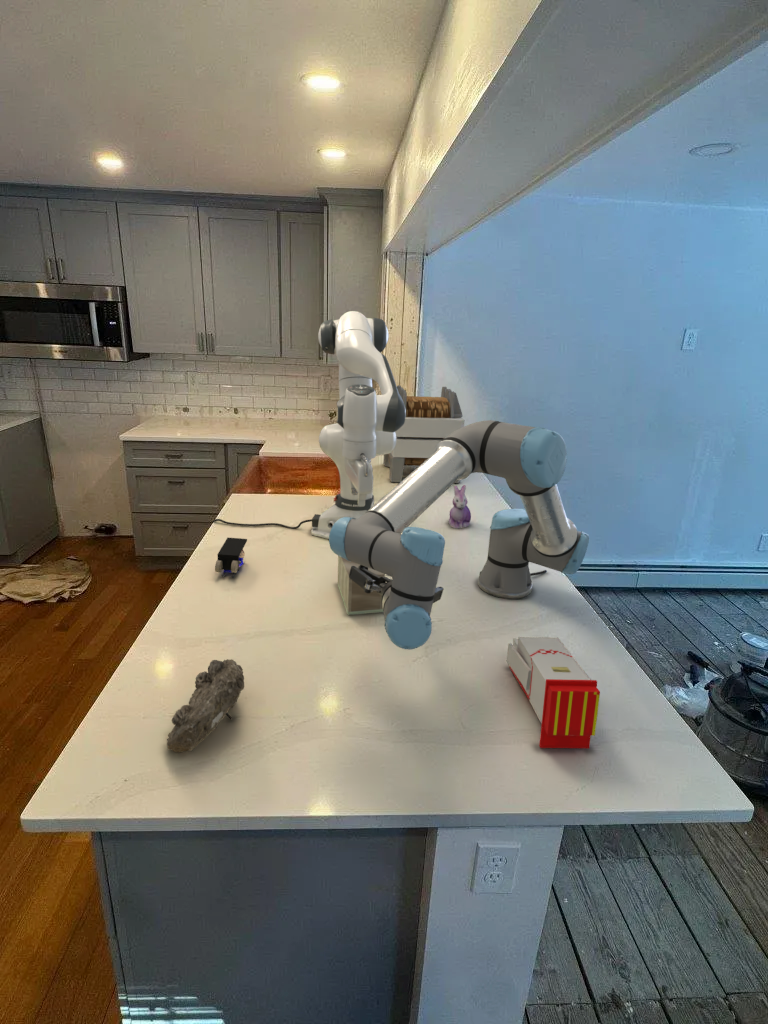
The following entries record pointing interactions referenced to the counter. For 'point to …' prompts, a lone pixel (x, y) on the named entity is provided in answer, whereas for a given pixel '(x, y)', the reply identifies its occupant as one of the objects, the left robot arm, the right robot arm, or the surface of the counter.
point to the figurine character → (230, 556)
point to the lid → (348, 565)
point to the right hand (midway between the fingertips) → (393, 573)
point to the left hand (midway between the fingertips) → (357, 499)
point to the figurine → (459, 509)
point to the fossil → (206, 705)
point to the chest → (357, 595)
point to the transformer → (423, 429)
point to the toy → (555, 691)
